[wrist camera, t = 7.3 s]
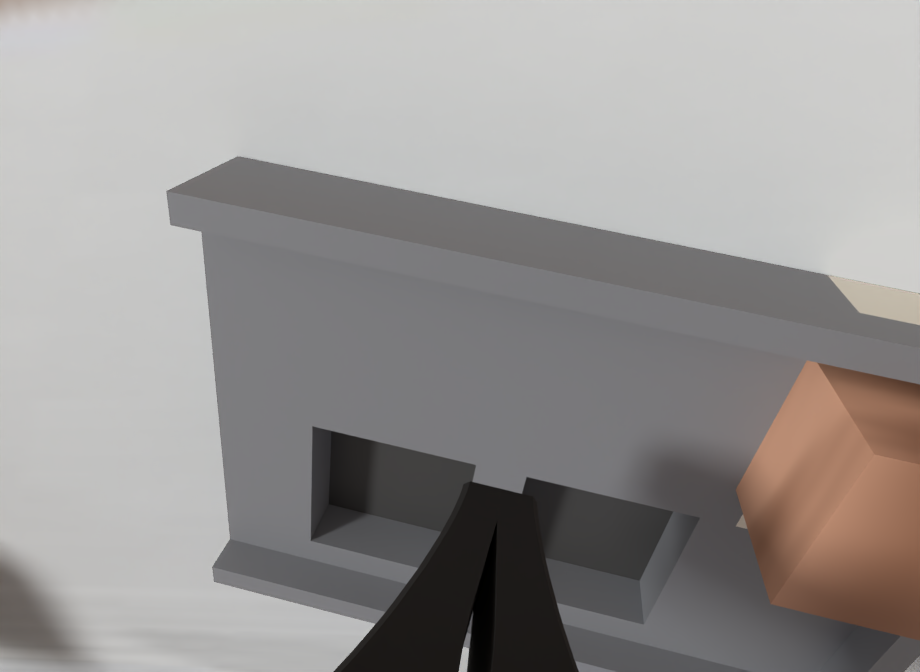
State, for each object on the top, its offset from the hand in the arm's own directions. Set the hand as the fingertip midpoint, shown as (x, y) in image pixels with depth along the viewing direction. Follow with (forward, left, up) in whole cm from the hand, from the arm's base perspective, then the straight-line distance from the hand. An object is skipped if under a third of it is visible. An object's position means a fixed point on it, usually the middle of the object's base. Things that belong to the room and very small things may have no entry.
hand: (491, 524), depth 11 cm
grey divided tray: (-3, +2, -7) cm, 8 cm away
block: (-8, -3, -5) cm, 10 cm away
